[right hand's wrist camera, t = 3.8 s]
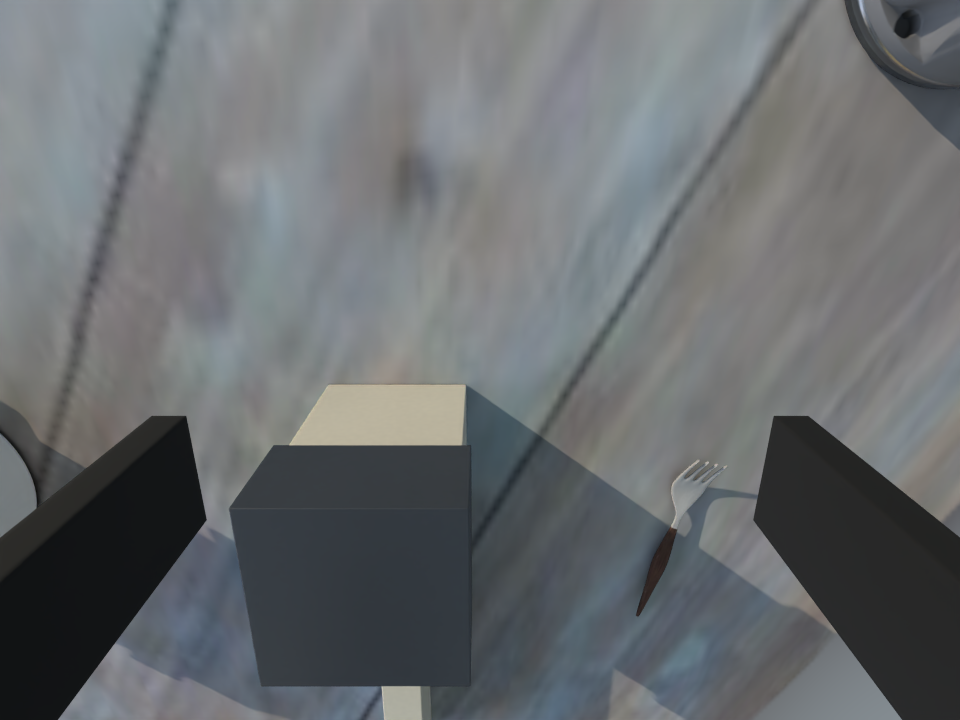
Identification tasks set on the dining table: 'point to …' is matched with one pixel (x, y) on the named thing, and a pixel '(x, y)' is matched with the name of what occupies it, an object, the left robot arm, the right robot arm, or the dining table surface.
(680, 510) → the fork
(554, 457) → the dining table surface
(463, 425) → the cream block
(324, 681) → the dark gray block
